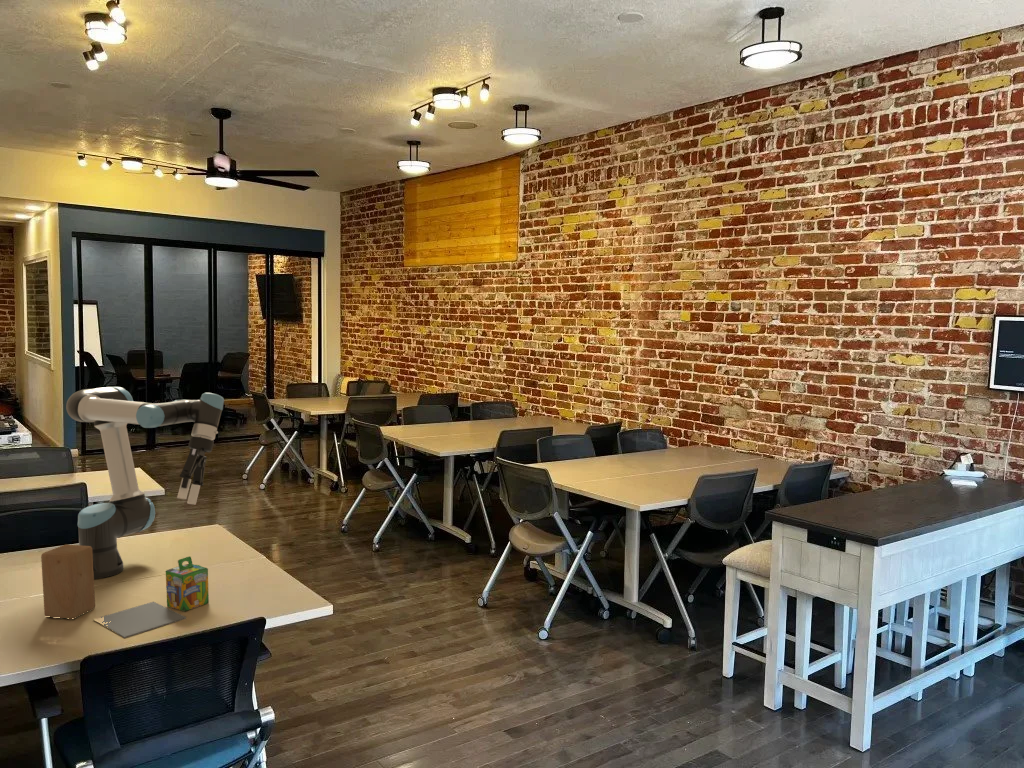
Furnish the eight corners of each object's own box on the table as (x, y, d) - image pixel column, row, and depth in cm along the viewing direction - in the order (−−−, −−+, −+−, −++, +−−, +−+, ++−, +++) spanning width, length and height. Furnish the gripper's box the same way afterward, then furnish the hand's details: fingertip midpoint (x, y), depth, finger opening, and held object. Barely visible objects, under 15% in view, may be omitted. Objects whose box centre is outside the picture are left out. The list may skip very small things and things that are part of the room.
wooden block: (72, 621, 226) (68, 555, 224) (43, 618, 228) (39, 553, 226) (96, 608, 236) (93, 545, 234) (68, 606, 238) (65, 543, 236)
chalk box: (184, 612, 233) (182, 565, 231) (165, 606, 237) (163, 560, 236) (210, 603, 240) (208, 557, 239) (192, 597, 245) (190, 552, 244)
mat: (93, 620, 227) (93, 619, 227) (153, 602, 241) (153, 601, 240) (124, 638, 214) (124, 636, 214) (186, 618, 228) (186, 617, 228)
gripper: (206, 432, 246) (189, 498, 240) (221, 447, 269) (206, 507, 263) (182, 428, 245) (164, 494, 239) (199, 444, 268) (183, 504, 262)
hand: (186, 501), depth 251 cm, fingers open, 13 cm apart
